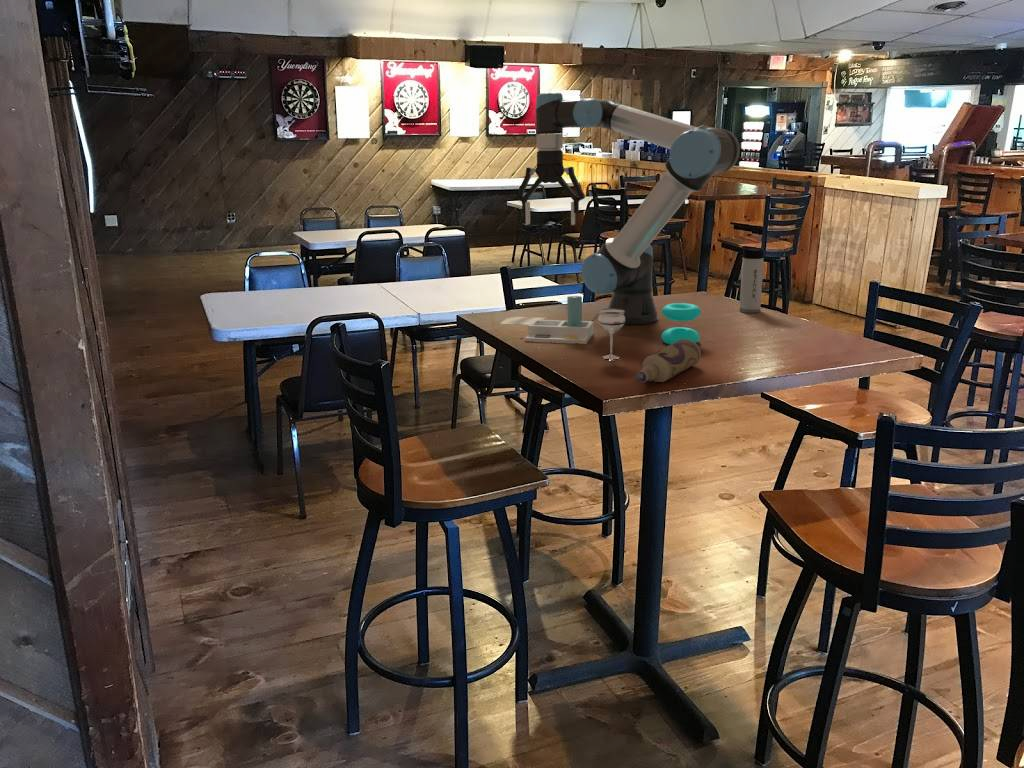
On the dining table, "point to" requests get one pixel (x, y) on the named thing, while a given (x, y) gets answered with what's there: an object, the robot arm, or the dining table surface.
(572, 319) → the green rectangular block
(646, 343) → the dining table surface
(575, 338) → the divided storage tray
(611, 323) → the wineglass
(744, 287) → the travel mug
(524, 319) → the deck
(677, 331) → the donuts
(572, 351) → the dining table surface
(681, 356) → the decorative bottle
